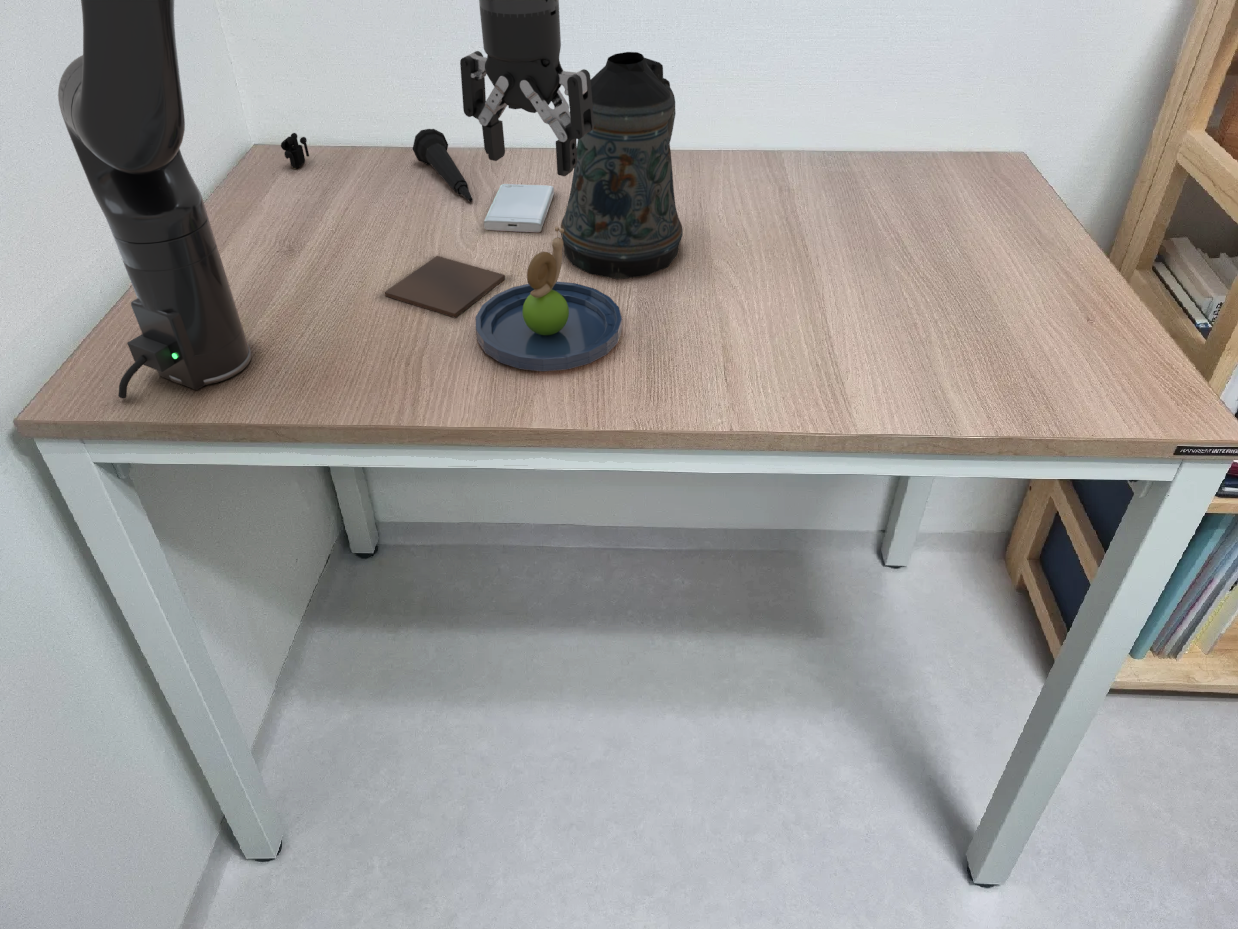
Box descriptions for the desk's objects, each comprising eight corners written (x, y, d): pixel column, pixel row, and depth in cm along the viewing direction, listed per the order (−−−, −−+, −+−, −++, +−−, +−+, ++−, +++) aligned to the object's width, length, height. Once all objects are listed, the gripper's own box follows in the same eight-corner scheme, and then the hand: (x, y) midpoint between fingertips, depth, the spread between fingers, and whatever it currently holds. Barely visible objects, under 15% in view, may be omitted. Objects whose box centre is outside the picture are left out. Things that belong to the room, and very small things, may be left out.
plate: (575, 390, 101) (574, 374, 100) (448, 349, 107) (446, 333, 106) (645, 318, 113) (646, 302, 111) (527, 284, 119) (526, 269, 117)
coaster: (455, 317, 113) (455, 313, 112) (385, 296, 117) (384, 291, 116) (505, 278, 120) (505, 274, 120) (437, 259, 124) (436, 255, 124)
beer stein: (556, 278, 120) (547, 82, 104) (567, 213, 135) (560, 31, 118) (682, 281, 120) (693, 83, 103) (679, 215, 134) (688, 33, 118)
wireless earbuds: (293, 175, 145) (286, 143, 142) (279, 173, 145) (271, 142, 142) (312, 157, 150) (306, 127, 147) (298, 156, 150) (291, 125, 147)
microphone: (482, 218, 140) (436, 157, 152) (491, 183, 137) (443, 123, 148) (449, 215, 137) (404, 153, 148) (458, 180, 133) (411, 119, 145)
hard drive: (500, 183, 139) (483, 219, 129) (553, 185, 138) (540, 221, 129) (501, 193, 140) (484, 230, 130) (554, 195, 139) (541, 232, 130)
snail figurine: (583, 324, 111) (580, 232, 103) (552, 349, 107) (547, 255, 99) (546, 311, 113) (541, 220, 105) (514, 335, 109) (507, 242, 101)
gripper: (433, -1, 86) (455, 166, 97) (563, 19, 81) (571, 192, 92) (478, -19, 91) (494, 141, 102) (604, -2, 86) (607, 165, 97)
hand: (531, 165), depth 97 cm, fingers open, 8 cm apart
